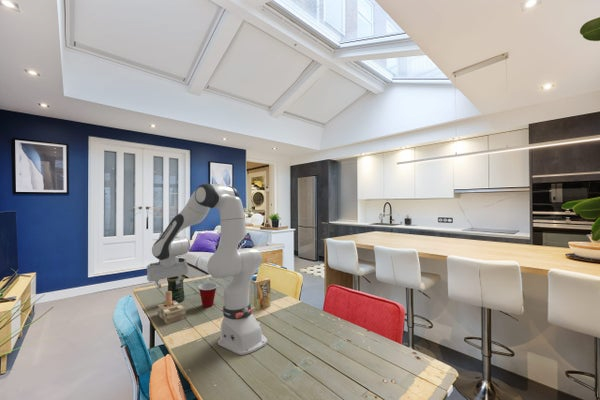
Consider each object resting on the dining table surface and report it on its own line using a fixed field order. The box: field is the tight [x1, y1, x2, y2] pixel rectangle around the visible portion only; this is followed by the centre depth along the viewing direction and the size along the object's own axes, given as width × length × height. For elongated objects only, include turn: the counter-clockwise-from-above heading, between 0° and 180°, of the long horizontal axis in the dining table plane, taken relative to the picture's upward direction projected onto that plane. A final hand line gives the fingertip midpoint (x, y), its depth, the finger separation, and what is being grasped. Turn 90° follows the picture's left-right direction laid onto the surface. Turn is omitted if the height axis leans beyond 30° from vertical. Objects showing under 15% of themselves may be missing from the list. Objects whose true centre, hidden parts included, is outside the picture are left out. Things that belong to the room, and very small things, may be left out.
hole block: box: [157, 301, 187, 325], centre depth 137 cm, size 16×9×5 cm, turn 45°
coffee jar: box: [166, 275, 185, 303], centre depth 157 cm, size 10×8×19 cm
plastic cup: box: [197, 282, 218, 308], centre depth 150 cm, size 11×11×12 cm
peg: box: [165, 290, 172, 307], centre depth 140 cm, size 3×3×12 cm
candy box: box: [253, 278, 271, 311], centre depth 147 cm, size 9×4×15 cm, turn 129°
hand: (168, 285), depth 139 cm, fingers open, 8 cm apart
